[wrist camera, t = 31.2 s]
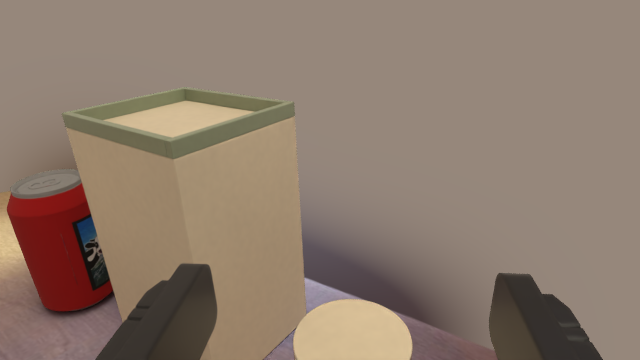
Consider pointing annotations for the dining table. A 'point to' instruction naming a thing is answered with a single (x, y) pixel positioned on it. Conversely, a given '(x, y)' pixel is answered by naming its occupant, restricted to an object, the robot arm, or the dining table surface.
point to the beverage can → (59, 240)
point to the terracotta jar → (352, 333)
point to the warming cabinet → (199, 205)
